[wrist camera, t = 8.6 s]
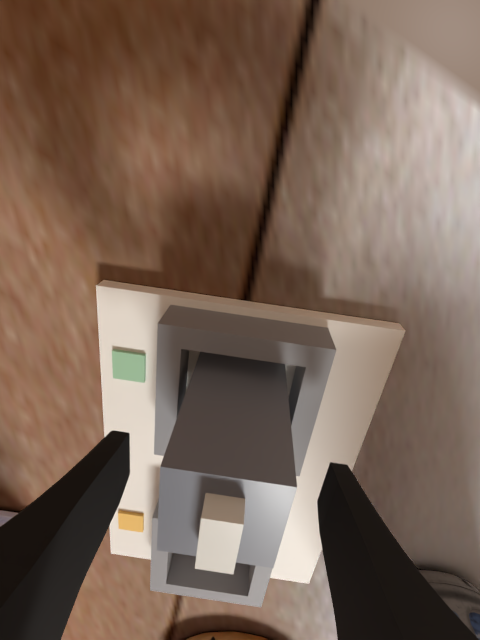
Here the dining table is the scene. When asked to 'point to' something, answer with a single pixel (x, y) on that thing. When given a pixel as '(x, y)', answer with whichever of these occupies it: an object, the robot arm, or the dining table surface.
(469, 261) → the dining table surface
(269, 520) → the plug
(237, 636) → the donut
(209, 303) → the panel
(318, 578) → the dining table surface
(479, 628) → the beverage bottle
